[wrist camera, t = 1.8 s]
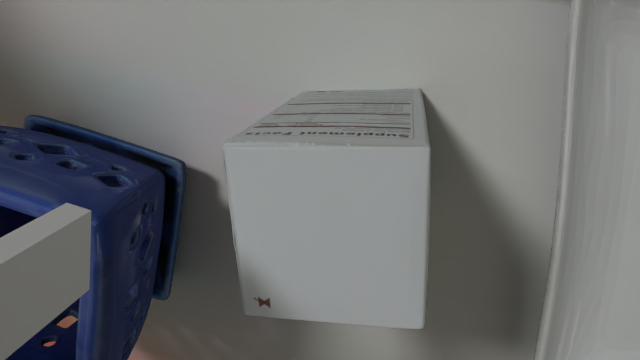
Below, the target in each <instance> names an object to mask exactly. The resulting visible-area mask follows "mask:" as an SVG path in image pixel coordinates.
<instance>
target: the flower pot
mask: <svg viewBox="0 0 640 360" xmlns="http://www.w3.org/2000/svg"><path fill="white" fill-rule="evenodd" d="M185 176H186V165H185V163H184V162H183V161H181V160H179V159H177V158H174V157H171V156H168V155H165V154H162V153H159V152H156V151H153V150H150V149H147V148H144V147H141V146H138V145H135V144H132V143H129V142H126V141H123V140H120V139H117V138H114V137H111V136H108V135H104V134H101V133H98V132H95V131H92V130H88V129H85V128H82V127H78V126H75V125H72V124H68V123H65V122H61V121H58V120H54V119H51V118H47V117H43V116H37V115H29V116H27V117H26V119H25V129H22V128H14V127H5V126H0V238H1V237H3V236H5V235H7V234H8V233H10V232H12V231H14V230H16V229H18V228H20V227H22V226H24V225H25V224H27V223H29V222H31V221H33V220H35V219H37V218H39V217H41V216H43V215H44V214H46V213H48V212H50V211H52V210H54V209H56V208H58V207H60V206H61V205H63V204H65V203H70V204H73V205H76V206H79V207H82V208H85V209H88V210H91V245H90V288H89V290H88V291H87V292H86V293H85V294H83V295H82V296H81V297H80V298H79V299H77V300H76V301H75V302H74V303H73V304H71V305H70V306H69V307H68V308H67V309H65V310H64V311H63V312H62V313H61V314H59V315H58V316H57V317H56V318H55V319H53V320H52V321H51V322H50V323H48V324H47V325H46V326H45V327H44V328H42V329H41V330H40V331H39V332H38V333H36V334H35V335H34V336H33V337H32V338H30V339H29V340H28V341H27V342H26V343H24V344H23V345H22V346H21V347H20V348H18V349H17V350H16V351H15V352H14V353H12V354H11V355H10V356H9V357H8V358H6V359H5V360H127V359H128V357H129V355H130V353H131V351H132V349H133V348H134V346H135V344H136V341H137V339H138V337H139V334H140V332H141V330H142V327H143V324H144V322H145V319H146V316H147V313H148V309H149V306H150V302H151V298H155V299H159V300H166V299H167V298H168V297H169V294H170V290H171V285H172V278H173V271H174V264H175V258H176V251H177V244H178V237H179V229H180V221H181V213H182V205H183V196H184V187H185ZM71 315H72V316H74V317H75V318H77V319H78V320H77V321H76V322H75V323H73V324H72V325H71V326H69V327H68V328H62V327H60V326H58V325H56V324H57V323H59V322H60V321H61V320H62V319H64V318H65V317H67V316H71ZM51 341H56V343H55V344H54V345H52V346H50V347H46V346H43V345H44V344H45V343H48V342H51Z"/></svg>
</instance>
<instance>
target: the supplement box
mask: <svg viewBox="0 0 640 360" xmlns="http://www.w3.org/2000/svg"><path fill="white" fill-rule="evenodd" d="M222 156H223V164H224V172H225V178H226V185H227V192H228V200H229V207H230V215H231V222H232V231H233V242H234V247H235V252H236V259H237V267H238V274H239V281H240V289H241V297H242V305H243V313H244V314H245V315H247V316H260V317H268V318H279V319H291V320H303V321H315V322H327V323H339V324H351V325H363V326H376V327H389V328H399V329H423V328H424V324H425V315H426V300H427V283H428V265H429V245H430V210H431V148H430V143H429V135H428V129H427V120H426V113H425V107H424V100H423V95H422V90H421V89H419V88H418V89H393V90H352V91H313V92H302V93H300V94H299V95H297V96H296V97H294V98H292V99H290V100H289V101H287V102H286V103H285V104H283V105H281V106H280V107H278V108H277V109H275V110H274V111H272V112H271V113H269V114H268V115H266V116H265V117H263V118H262V119H260V120H259V121H257V122H256V123H254V124H253V125H251V126H250V127H248V128H247V129H245V130H244V131H242V132H240V133H239V134H237V135H235V136H234V137H232V138H230V139H228V140H226V141H224V142H223V144H222Z"/></svg>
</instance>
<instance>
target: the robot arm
mask: <svg viewBox="0 0 640 360" xmlns="http://www.w3.org/2000/svg"><path fill="white" fill-rule="evenodd" d="M90 245H91V210H88V209H85V208H82V207H79V206H76V205H73V204H70V203H65V204H63V205H61V206H60V207H58V208H56V209H54V210H52V211H50V212H48V213H46V214H44V215H43V216H41V217H39V218H37V219H35V220H33V221H31V222H29V223H27V224H25V225H24V226H22V227H20V228H18V229H16V230H14V231H12V232H10V233H8V234H7V235H5V236H3V237H1V238H0V360H5V359H6V358H8V357H9V356H10V355H11V354H12V353H14V352H15V351H16V350H17V349H18V348H20V347H21V346H22V345H23V344H24V343H26V342H27V341H28V340H29V339H30V338H32V337H33V336H34V335H35V334H36V333H38V332H39V331H40V330H41V329H42V328H44V327H45V326H46V325H47V324H48V323H50V322H51V321H52V320H53V319H55V318H56V317H57V316H58V315H59V314H61V313H62V312H63V311H64V310H65V309H67V308H68V307H69V306H70V305H71V304H73V303H74V302H75V301H76V300H77V299H79V298H80V297H81V296H82V295H83V294H85V293H86V292H87V291H88V290H89V288H90Z"/></svg>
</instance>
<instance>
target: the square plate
mask: <svg viewBox="0 0 640 360" xmlns="http://www.w3.org/2000/svg"><path fill="white" fill-rule="evenodd" d="M534 360H640V0H571V8H570V18H569V27H568V38H567V53H566V68H565V82H564V104H563V121H562V136H561V151H560V164H559V177H558V191H557V201H556V212H555V221H554V230H553V240H552V248H551V256H550V264H549V271H548V277H547V284H546V290H545V297H544V303H543V309H542V315H541V320H540V326H539V332H538V338H537V344H536V350H535V355H534Z"/></svg>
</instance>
